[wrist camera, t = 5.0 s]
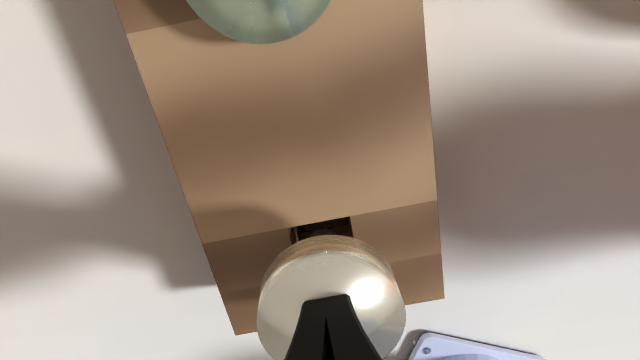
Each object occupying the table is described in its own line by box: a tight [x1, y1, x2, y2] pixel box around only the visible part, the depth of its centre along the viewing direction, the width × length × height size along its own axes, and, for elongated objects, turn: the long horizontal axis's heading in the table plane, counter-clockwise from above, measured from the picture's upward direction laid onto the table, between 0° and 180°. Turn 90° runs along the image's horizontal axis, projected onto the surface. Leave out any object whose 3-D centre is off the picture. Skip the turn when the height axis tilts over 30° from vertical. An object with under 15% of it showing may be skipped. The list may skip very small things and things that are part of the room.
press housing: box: [114, 0, 444, 335], centre depth 15 cm, size 17×9×4 cm, turn 11°
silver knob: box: [257, 228, 406, 360], centre depth 14 cm, size 4×4×4 cm
